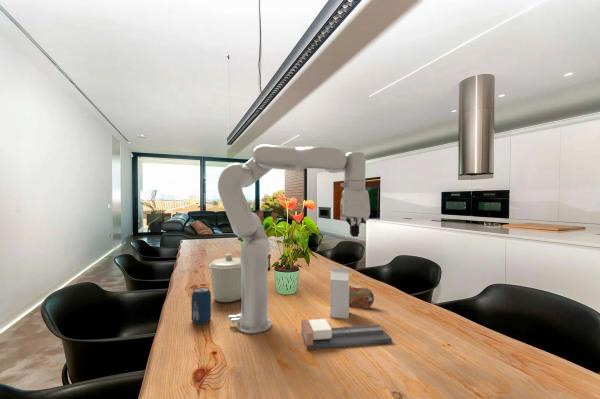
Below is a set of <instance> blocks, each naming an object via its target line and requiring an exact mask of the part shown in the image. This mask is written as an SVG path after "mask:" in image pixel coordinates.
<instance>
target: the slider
mask: <svg viewBox="0 0 600 399" xmlns="http://www.w3.org/2000/svg"><path fill="white" fill-rule="evenodd" d="M307 320H308V322H309V325H310V327H311V329H312V332H313V340H320V339H331V337H332V329H331V328H332V327H331V326H330V324H329V322H328V320H327V319H326V318H320V319H318V318H317V319H307Z"/></svg>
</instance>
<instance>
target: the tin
mask: <svg viewBox="0 0 600 399" xmlns="http://www.w3.org/2000/svg"><path fill="white" fill-rule="evenodd" d="M374 300H375V295H374V293H373V292H372V290H371V289H369V288H368V287H361V286H352V285H349V307H350V308H351V307H352V308H361V309H368V308H370V307H372V306H373V304H374V302H375V301H374Z"/></svg>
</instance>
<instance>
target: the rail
mask: <svg viewBox="0 0 600 399" xmlns="http://www.w3.org/2000/svg"><path fill="white" fill-rule="evenodd" d="M308 320H309V319H301V337H302V340H303V343H304V345H305V349H306V350H307V351H311V350H323V349H334V348H335V349H336V348H337V349H339V348H348V347H359V346H360V347H361V346H362V347H363V346H371V345H386V344H392V343H393V339H392V337H391V336H390V334H388V333H387V332H386V331H385V330H384V329H383V328H382V326H380V325H379V324H371V325H357V326H355V325H354V326H341V327H331V329H332V337H331V339H320V340H313V332H312V329H311V327H310V325H309V322H308Z"/></svg>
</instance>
